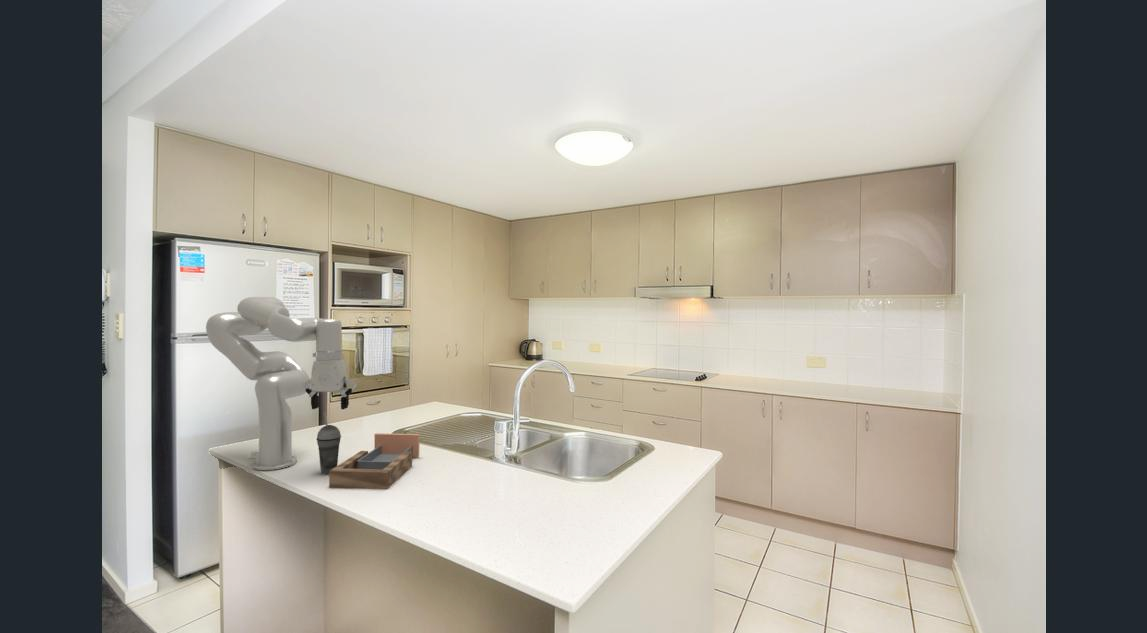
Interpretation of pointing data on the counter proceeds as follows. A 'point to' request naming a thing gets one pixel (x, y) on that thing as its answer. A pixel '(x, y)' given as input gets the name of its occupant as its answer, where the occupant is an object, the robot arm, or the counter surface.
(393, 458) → the tray
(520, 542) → the counter surface
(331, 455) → the beverage cup
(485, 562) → the counter surface
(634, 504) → the counter surface
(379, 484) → the housing
